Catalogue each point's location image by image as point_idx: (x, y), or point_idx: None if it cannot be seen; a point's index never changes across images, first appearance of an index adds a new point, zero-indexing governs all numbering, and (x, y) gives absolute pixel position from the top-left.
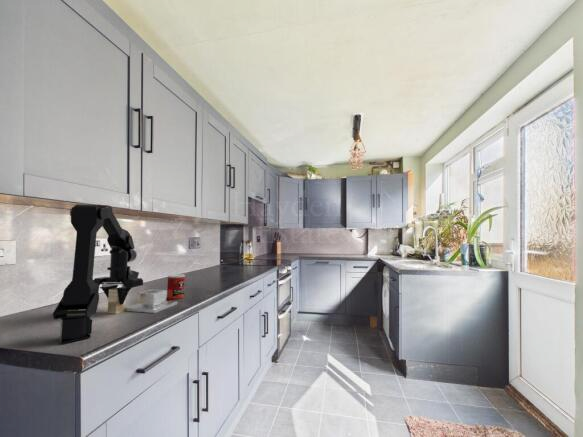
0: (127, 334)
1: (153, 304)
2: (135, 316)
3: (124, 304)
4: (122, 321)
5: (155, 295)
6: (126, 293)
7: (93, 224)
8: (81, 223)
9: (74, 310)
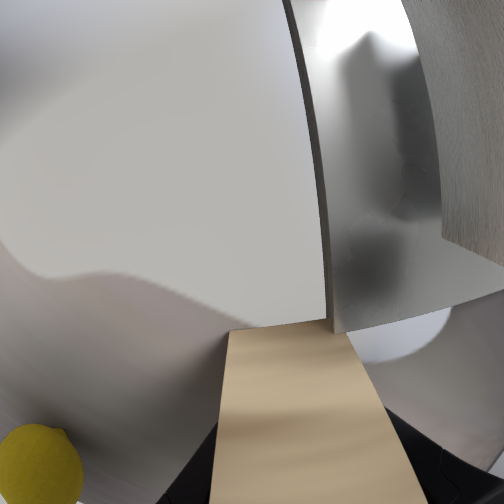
0: None
1: None
2: (489, 355)
3: (358, 366)
4: (464, 420)
5: None
6: (458, 477)
7: None
8: None
9: (80, 459)
